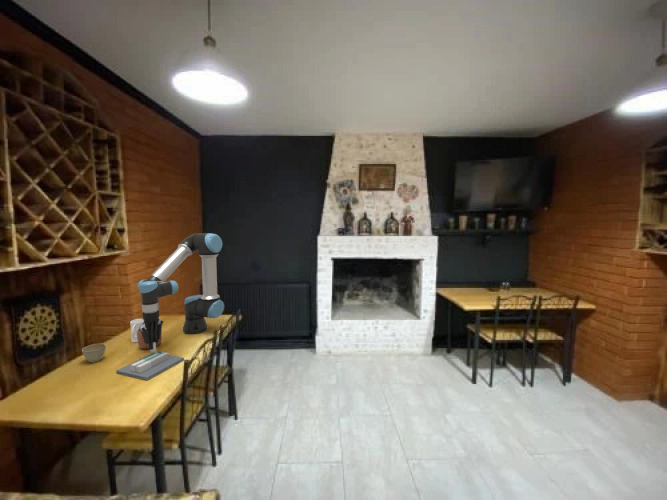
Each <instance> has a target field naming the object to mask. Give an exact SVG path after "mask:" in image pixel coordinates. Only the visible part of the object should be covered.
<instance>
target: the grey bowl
mask: <svg viewBox="0 0 667 500" xmlns="http://www.w3.org/2000/svg"><path fill="white" fill-rule="evenodd" d="M106 346H107V345H106V344H105V343H94V344H90V345H87V346H84V347H83V348H82V349H81V352H82V354H83V357H84V358H85V360H86V361H88V362H89V363H96V362H99V361H101V360H102V358H103V357H104V354H105V351H106Z"/></svg>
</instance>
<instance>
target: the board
mask: <svg viewBox="0 0 667 500" xmlns="http://www.w3.org/2000/svg"><path fill="white" fill-rule="evenodd" d="M161 352H163V353H162V354H160V355H158V356H156V357H154V358H152V359H150V360H148V361H146V362H144V363H142V364H140V365H138V366H136V370H137V371H135V372H134V371H131V365H132V364H134V363H136V362H138V361H140V359H138V360H136V361H133V362H132V363H129V364H126V365H125V366H123V367H121V368H118V369H116V370H115V371H116V374H117V375H121V376H125V377H130V378H134V379H139V380H143V381H146V382H148V381H150V380H151V379H153V378H155V377H157V376H158V375H161V374H163V373H164V372H165V371H168V370H169V369H171V368H172V367H173V368H174V367H175V366H177V365H178V364H180V363H182V362H184V361H185V357H182V356H178V355H172V354H169V352H165V351H162V350H156V353H161Z"/></svg>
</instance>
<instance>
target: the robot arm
mask: <svg viewBox="0 0 667 500" xmlns="http://www.w3.org/2000/svg"><path fill="white" fill-rule="evenodd" d="M222 248H223V240H222V238H221V236H219V235H218V234H216V233H206V232H203V233H201V232H196V233H193V234H191V235H189V236H187V237H186V238H184V239H183V240H181V242H180V243H178V245H177V249H176V250H174V252H172V254H170V255H169V256H168V258H166V260H165V261H164V262H163V263H162V264H161V265H160V266H159V267H158V268H156V269H155V271H154V272H152V274H151V275H150V276H149V277H147V278H145V279H141V280H140V281H139V282H138V284H137V288H138V291H139V292H140V297H141V300H140V301H141V312H142V315H141V316H142V319H143V320H144V323H143V326H142V327H140V328H139V330H140V331H141V333H142V336H143V339H144V342H145V343H146V344H149V349H148V350H149V352H154V353H156V352H157V348H158V346H157V342H158V340H159V339H160V336H161V329H162V327H163V324H164V320H160V310H159V309H160V305H159V299H160V298H163V297H166V296H167V297H168V296H172V295H174V294H176V293H177V292H178V291H179V285H178V282H177V281H175V280H168V281H167V279H168V278H169V277H170V276H171V275H172V274H173V273H174V272H175V271H176V269H177V268H178V267H179V266H180V265H181V264H182V263H183V262H184V261H185V260H186V259H187V257H190V256H192V255H193V254H194V253H196V252H198V256H199V257H201V277H202V278H201V279H202V294H196V295H190V296H187V297H186V298H185V299H184V303H183V306H184V319H185V320H184V324H183V327H182V332H183V333H184V334H187V335H196V334H197V335H198V334H201V333H204V332H206V331H207V330H208V327H209V326H208V323H207V321H206V318H207V319H208V318H209V319H218V318H219V317H220V316H221V315H222V314H223V312H224V310H225V304H224V301H222V300H221V297H220V295H219V294H218V281H217V280H218V277H217V276H218V274H217V273H218V272H217V268H218V267H217V257H218V256H219V252H221V251H222ZM145 327H146V328H145Z"/></svg>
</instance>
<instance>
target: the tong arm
mask: <svg viewBox="0 0 667 500" xmlns="http://www.w3.org/2000/svg"><path fill="white" fill-rule="evenodd" d="M163 352H164V351H161V353H155V354H153V355H151V356H149V357H147V358H144V359H142V360H140V359H139V360H140V361H138V362H136V363H134V364H132V365H131V371H134V372H135V371H137V370H136V366H138V365H140V364H142V363H144V362H146V361H148V360H150V359H152V358H154V357H156V356H158V355H160V354H162V353H163Z"/></svg>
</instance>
